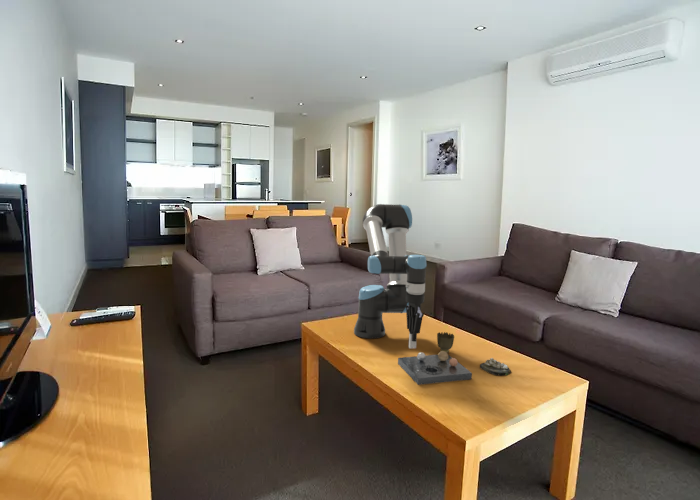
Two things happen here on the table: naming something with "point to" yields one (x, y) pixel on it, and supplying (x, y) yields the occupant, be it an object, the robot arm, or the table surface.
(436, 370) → the race plate
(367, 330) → the robot arm
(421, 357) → the steel ball
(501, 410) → the table surface
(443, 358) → the beech ball
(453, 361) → the terracotta ball
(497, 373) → the grey rocky sculpture
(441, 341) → the cup
